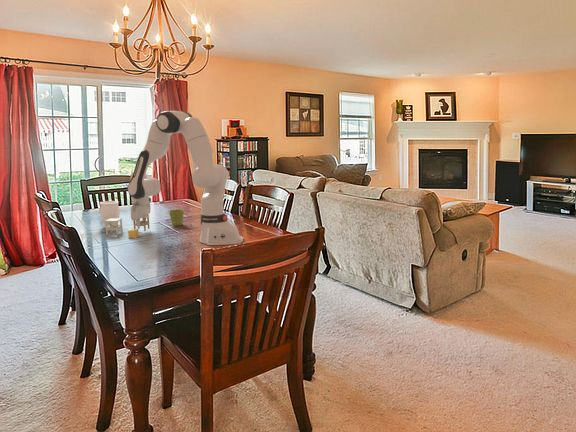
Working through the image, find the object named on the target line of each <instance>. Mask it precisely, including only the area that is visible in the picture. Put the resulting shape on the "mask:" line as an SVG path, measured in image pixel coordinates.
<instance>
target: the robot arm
mask: <svg viewBox="0 0 576 432" xmlns="http://www.w3.org/2000/svg"><path fill="white" fill-rule="evenodd" d="M207 133H208V132H207V131H206V129H205V127H204V125H203V124H202V122H201V120H200V119H199V118H198V117H196V116H195V117H194V116H193V115H192V114H190V113H189V112H187V111H181V110H179V111H178V110H165V111H162V112H160V113H158V114H157V116H156V119H155V120H153V121H152V122H151V125H150V127H149V131H148V135H147V139H146V143H145V145H144V147H143V149H142V150H141V151H140V153H139V155H138V157H137V160H136V164H135V166H134V170H133V172H132V173H131V174H130V180H129V182H128V185H127V193H128V194H129V195H130V197H131V199H130V201H131V205H132V206H131V207H130V219H131V220H132V221H133V220H135V222H136V223H137V226H136V228H138V227H140V228H141V227H142V226H141V223H140V221H144V220H143V218H142V216H144V215H146V214H149V215H150V213H151V202H152V197H153V196H156V195H158V194H160V193H161V191H162V183H161V182H160V180H159V179H158V178H155V177H153V176H151V175H148V173H147V171H148V168H149V167H150V165H151V164H153V163H154V162H156V161H157V160H159V159H161V158H163V157H164V156H165V155H167V153H168V151H169V147H170V141H171V136H172V135H173V134H182V136H183V137H184V140H185V143H186V145H187V148H188V150H189V151H188V152H189V154H190V156H191V160H192V166H193V173H192V176H191V180H192V183H193V184H194V185H195V186H196V187H197V188H199V189H203V193H202V196H201V198H200V206H201V207H200V208H201V209H200V210H201V214H200V226H201V229H200V236H199V240H198V241H199V243H201V244H204V245H206V246H221V245H222V246H225V245H239V244H241V243H243V242H244V240H243V239H244V236H242V235H240V232H239V228H238V227H237V226H236V225H234V224H233V223H231V222H230V221H229V220H228V214H226V213H224V195H225V189H226V185H227V181H228V179H229V171H228V169H227V168H226V166H225V165H222V164H218V163H215V164H214V161H213V160H214V159H213V154H214V150H213V149H214V148H213V147H212V144H211V142H210V139H209V135H208V134H207ZM141 219H142V220H141ZM145 221H147V217H145Z"/></svg>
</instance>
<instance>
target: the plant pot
mask: <svg viewBox="0 0 576 432" xmlns="http://www.w3.org/2000/svg"><path fill="white" fill-rule="evenodd" d="M168 213H169V216H170V221H171V225H172V226H175V227H178V226H182V225H183V223H184V222H183V221H184V213H185V210H184V209H172V210H168Z"/></svg>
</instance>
